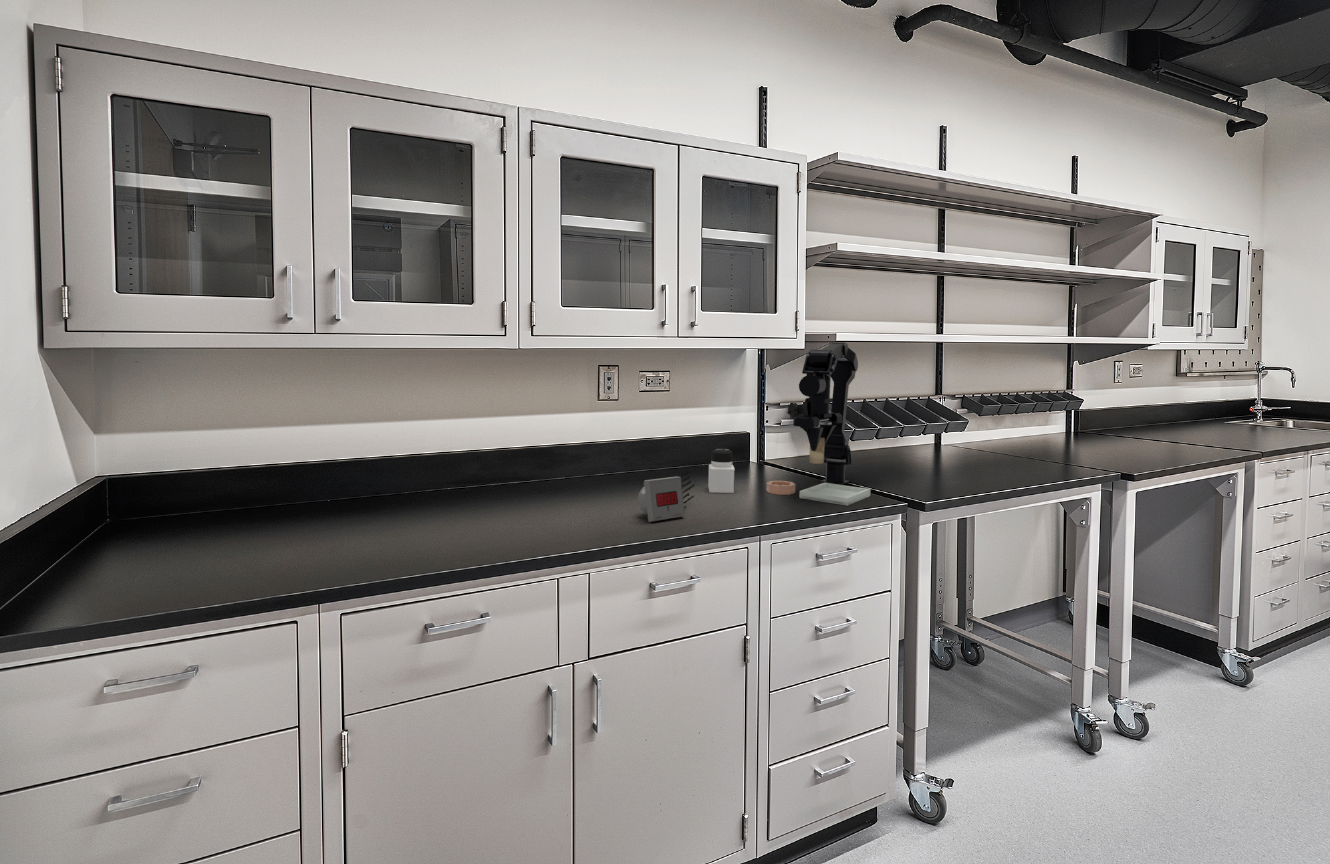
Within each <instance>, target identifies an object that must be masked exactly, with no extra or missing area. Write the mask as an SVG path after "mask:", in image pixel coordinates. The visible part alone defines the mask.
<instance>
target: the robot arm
mask: <svg viewBox="0 0 1330 864" xmlns="http://www.w3.org/2000/svg"><path fill="white" fill-rule="evenodd" d="M858 369H859V360H858V357H857V353H856V352H854V350H852V349H851V348H849V345H848V343H846V342H843V341H841V342H840V341H839V342H838V341H836V342H835V341H833V342H830V343H829V344H828V345H827V346H825V347H823V348H822V349H815V348H813V349H811V348H810V349H809V351H808V353H806V356H805V359H804V364H803V366H802V371H801V373H802V374H804V375H805V374H806V375H805V376H803V377H802V378H801V379H800V380H799V384H798V389H799V392H800V393H801V394H802V395H803V396H805V397H806V398H805V399H804V403H802V404H797V403H796V402H792V403H790V404H788V406H787V412H786V413H787V414H788V415H789V416H790V418H791V420H793V421H792V426H793V427H799V429H802V430H803V431H804V433H806V436H807V439H808V442H809V448H810V447H811V450H812V451H816V448H817V446H818V443H819V440H820V437H823V438H825V443H824V463H826V466H825V467H826V468H825V479H822V480H821V481H820V482H821V483H830V484H837V485H844V484H847V483H850V480H848V479H847V480H846V478H845V477H846V466H849V465H853V455H852V454H853V453H852V449H851V447H850V445H849V443H850V442H849V441H850V440H849V438H848V436H847V434H846V432H845V428H846V417H847V407H848V396H849V388H850V385H851V384H852V381H853V380H854V379H855V377H856V374H857V373H856V372H857V371H858ZM831 380H832V383H833V389H832V397H831ZM830 403H831V407H830ZM830 410H831V411H830ZM824 463H823V464H824Z"/></svg>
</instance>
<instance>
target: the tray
mask: <svg viewBox="0 0 1330 864" xmlns="http://www.w3.org/2000/svg"><path fill="white" fill-rule="evenodd" d="M870 496H871V488H866V487H860V486H859V487H857V486H851V485H844V484H842V485H837V484H830V483H823V482H821V483H819V484H816V485H813V486H810V487H808V488H805V489H802V490H801V489H800V490H799V499H801V500H802V499H804V500H809V501H817V502H822V503H828V504H835V505H841V506H846V507H847V506H850V505H853V504H854V503H857V502H859V501H862V500H864V499H867V498H869V497H870Z"/></svg>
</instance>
